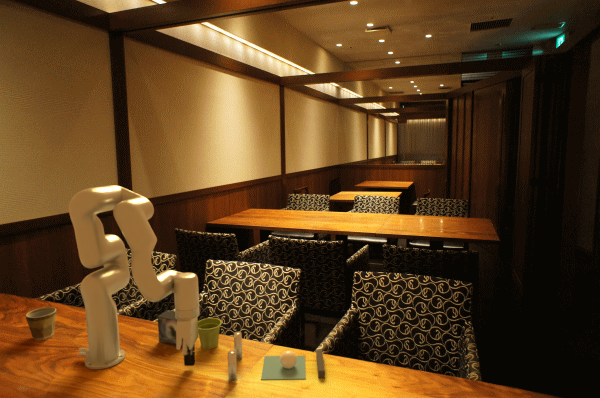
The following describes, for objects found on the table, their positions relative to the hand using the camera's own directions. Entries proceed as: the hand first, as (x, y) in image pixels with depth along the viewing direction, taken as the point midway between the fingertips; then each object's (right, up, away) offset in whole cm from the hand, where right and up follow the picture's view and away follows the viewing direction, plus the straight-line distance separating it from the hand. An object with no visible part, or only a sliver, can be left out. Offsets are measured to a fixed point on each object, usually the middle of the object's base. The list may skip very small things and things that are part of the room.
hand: (189, 364), depth 131 cm
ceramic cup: (-65, +1, +25) cm, 70 cm away
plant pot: (+3, 0, +16) cm, 16 cm away
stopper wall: (+43, -1, +1) cm, 43 cm away
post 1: (+15, -2, -6) cm, 16 cm away
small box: (-11, 0, +19) cm, 22 cm away
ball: (+33, +2, 0) cm, 33 cm away
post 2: (+15, -1, +7) cm, 16 cm away
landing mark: (+31, -1, 0) cm, 31 cm away
